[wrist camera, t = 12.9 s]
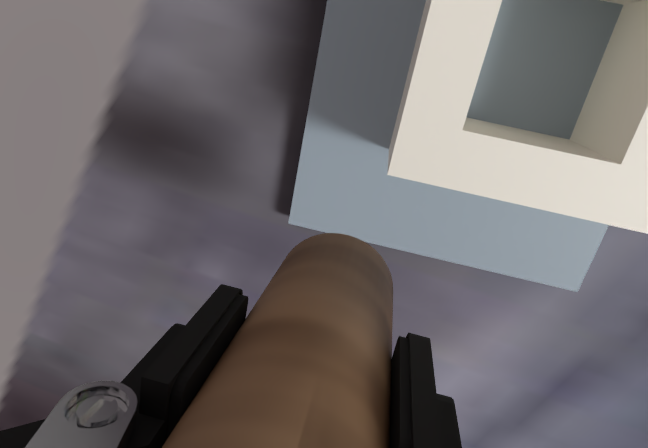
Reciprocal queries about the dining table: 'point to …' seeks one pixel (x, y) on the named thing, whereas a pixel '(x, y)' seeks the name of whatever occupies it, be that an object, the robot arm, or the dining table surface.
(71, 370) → the dining table surface
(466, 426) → the dining table surface
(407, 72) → the dock station
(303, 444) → the dowel
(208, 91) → the dining table surface
